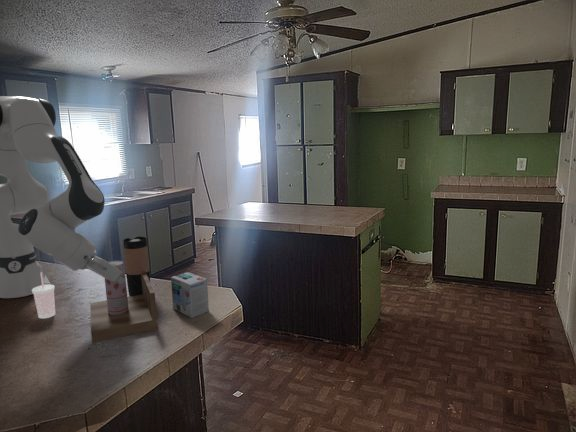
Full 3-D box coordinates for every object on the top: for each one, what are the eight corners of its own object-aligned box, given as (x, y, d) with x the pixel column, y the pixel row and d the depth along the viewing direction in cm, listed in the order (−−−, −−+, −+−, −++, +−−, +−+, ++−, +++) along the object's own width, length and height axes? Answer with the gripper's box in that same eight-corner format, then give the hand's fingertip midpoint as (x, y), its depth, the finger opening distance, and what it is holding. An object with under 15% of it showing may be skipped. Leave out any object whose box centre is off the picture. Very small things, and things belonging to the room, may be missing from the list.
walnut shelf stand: (91, 312, 132) (87, 278, 130) (147, 302, 139) (144, 270, 137) (92, 342, 112) (87, 304, 110) (157, 329, 120) (154, 292, 117)
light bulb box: (172, 308, 134) (169, 276, 131) (190, 302, 138) (188, 271, 136) (191, 318, 126) (189, 284, 124) (209, 311, 131) (208, 278, 129)
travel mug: (144, 299, 141) (139, 242, 137) (123, 298, 143) (118, 241, 139) (155, 291, 148) (151, 236, 145) (136, 290, 150) (131, 236, 146)
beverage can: (108, 317, 121) (103, 267, 118) (107, 309, 126) (102, 261, 123) (129, 313, 123) (124, 264, 120) (127, 306, 128) (123, 259, 126)
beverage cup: (30, 318, 129) (24, 274, 126) (48, 310, 134) (42, 268, 131) (45, 320, 126) (39, 276, 124) (62, 312, 132) (57, 270, 129)
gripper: (101, 250, 109) (140, 277, 117) (73, 238, 123) (109, 262, 131) (85, 271, 106) (126, 296, 115) (58, 256, 120) (96, 280, 129)
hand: (117, 278), depth 123 cm, fingers closed on beverage can, 5 cm apart
